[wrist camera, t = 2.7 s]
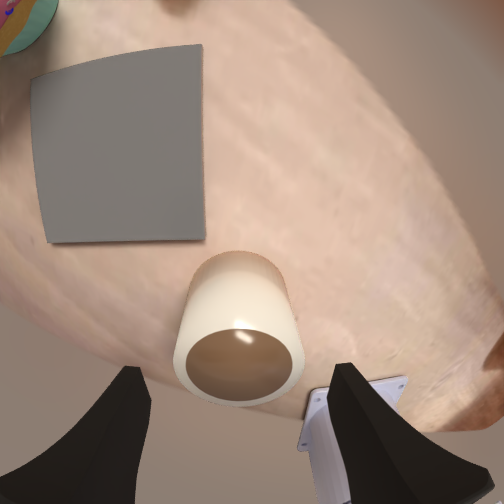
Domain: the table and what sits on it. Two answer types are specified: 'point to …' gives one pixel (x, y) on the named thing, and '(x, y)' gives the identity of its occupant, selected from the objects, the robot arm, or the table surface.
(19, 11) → the cupcake
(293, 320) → the cup
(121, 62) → the coaster
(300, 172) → the table surface
